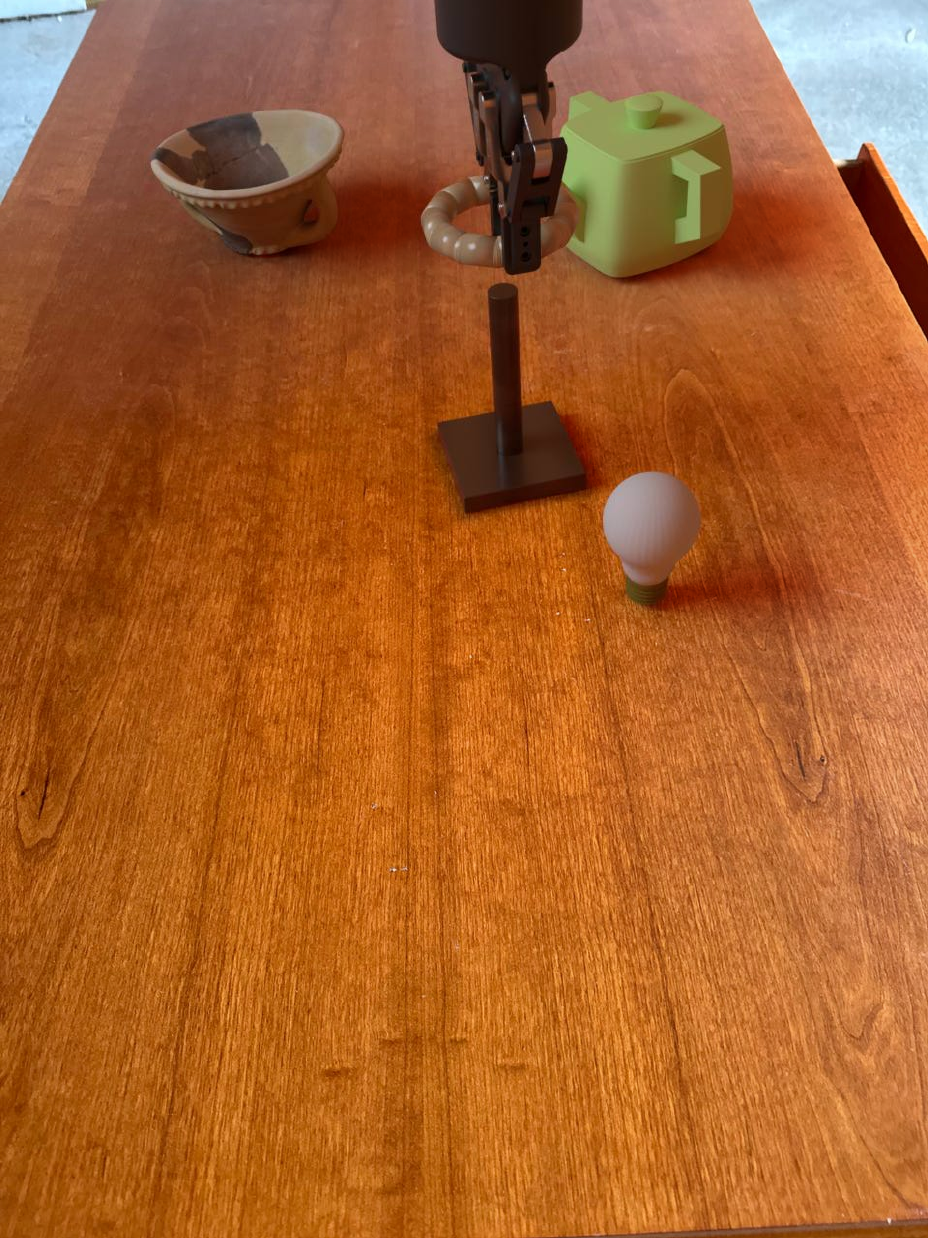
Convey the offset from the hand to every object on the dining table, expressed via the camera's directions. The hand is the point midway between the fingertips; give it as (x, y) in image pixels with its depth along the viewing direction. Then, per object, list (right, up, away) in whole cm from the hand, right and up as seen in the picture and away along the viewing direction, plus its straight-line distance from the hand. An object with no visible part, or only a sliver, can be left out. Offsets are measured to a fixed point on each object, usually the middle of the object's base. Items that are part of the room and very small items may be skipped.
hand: (516, 258), depth 68 cm
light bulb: (+9, -20, +7) cm, 23 cm away
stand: (0, -10, +17) cm, 19 cm away
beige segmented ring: (-1, +3, +2) cm, 4 cm away
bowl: (-22, +15, +41) cm, 49 cm away
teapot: (+11, +12, +36) cm, 39 cm away
